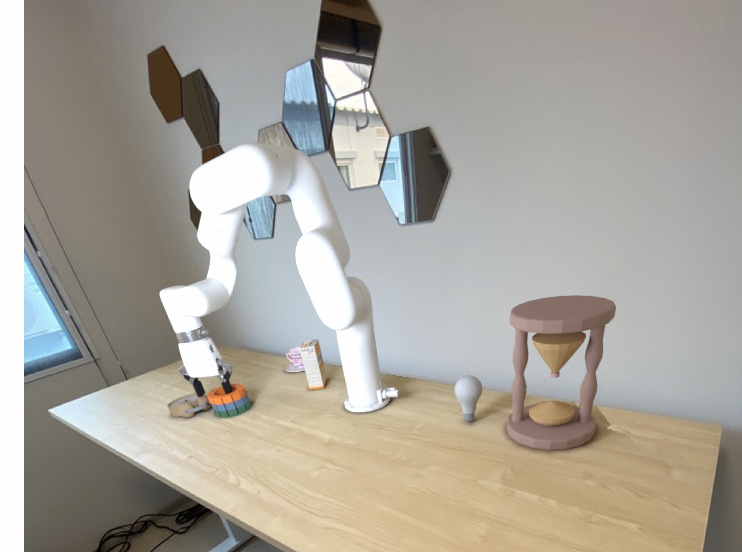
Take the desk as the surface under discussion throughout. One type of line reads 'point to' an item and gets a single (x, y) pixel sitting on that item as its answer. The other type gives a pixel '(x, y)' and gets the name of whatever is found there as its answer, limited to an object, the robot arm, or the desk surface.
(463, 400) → the lightbulb
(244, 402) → the ring stack
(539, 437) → the hourglass
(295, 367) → the teacup
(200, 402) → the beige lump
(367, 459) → the desk surface
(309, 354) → the supplement box
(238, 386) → the orange ring
